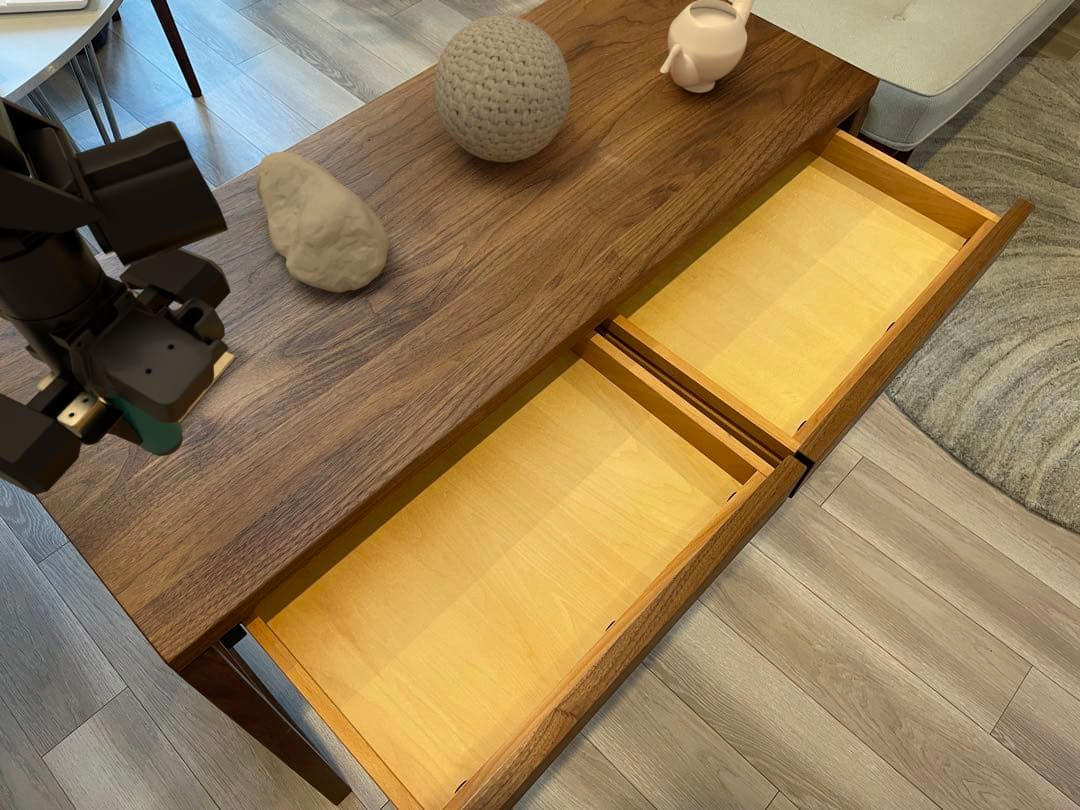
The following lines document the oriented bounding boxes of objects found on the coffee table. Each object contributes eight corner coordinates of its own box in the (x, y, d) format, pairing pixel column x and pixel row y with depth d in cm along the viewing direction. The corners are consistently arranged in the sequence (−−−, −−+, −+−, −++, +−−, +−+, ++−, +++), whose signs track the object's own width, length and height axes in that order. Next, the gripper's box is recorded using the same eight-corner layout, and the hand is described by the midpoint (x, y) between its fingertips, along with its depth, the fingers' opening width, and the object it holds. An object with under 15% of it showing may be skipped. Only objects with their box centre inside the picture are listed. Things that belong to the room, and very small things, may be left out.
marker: (135, 449, 60) (84, 387, 53) (162, 418, 61) (117, 353, 54) (168, 466, 59) (122, 405, 52) (196, 433, 61) (154, 370, 54)
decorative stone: (418, 249, 79) (351, 206, 70) (357, 323, 81) (284, 289, 72) (340, 164, 87) (272, 116, 79) (286, 232, 89) (214, 192, 81)
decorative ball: (579, 120, 95) (590, 0, 83) (548, 202, 87) (554, 83, 75) (462, 96, 97) (455, -25, 84) (421, 175, 89) (406, 54, 76)
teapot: (621, 101, 98) (631, 31, 90) (708, 33, 106) (724, -36, 99) (684, 135, 95) (701, 66, 87) (768, 62, 103) (790, -7, 96)
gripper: (35, 465, 39) (155, 577, 52) (263, 225, 48) (315, 371, 61) (-130, 382, 41) (25, 510, 54) (118, 168, 50) (199, 321, 63)
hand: (152, 423), depth 58 cm, fingers closed on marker, 3 cm apart
